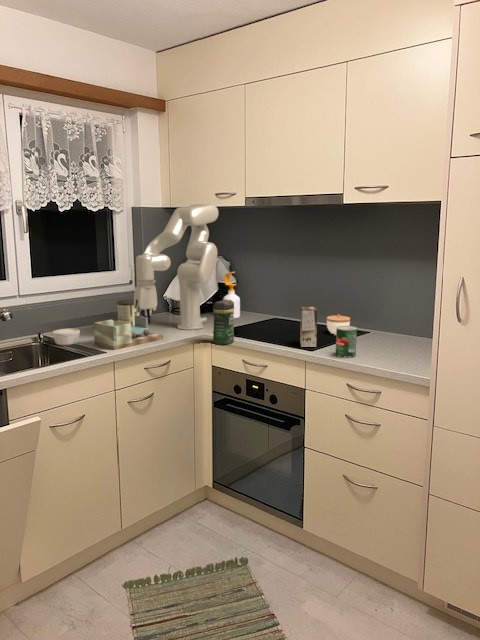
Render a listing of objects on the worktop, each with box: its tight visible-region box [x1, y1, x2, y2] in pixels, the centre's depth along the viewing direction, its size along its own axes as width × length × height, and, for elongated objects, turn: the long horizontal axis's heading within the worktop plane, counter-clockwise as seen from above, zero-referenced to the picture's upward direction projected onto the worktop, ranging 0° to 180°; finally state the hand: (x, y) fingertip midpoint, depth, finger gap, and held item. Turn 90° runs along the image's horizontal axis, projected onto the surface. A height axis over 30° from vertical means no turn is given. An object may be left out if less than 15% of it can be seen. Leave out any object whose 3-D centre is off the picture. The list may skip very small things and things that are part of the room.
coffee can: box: [116, 299, 140, 326], centre depth 255 cm, size 10×10×14 cm
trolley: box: [131, 315, 150, 338], centre depth 234 cm, size 10×10×8 cm
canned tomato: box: [335, 325, 358, 357], centre depth 210 cm, size 8×8×11 cm
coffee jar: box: [212, 299, 235, 345], centre depth 230 cm, size 10×8×19 cm
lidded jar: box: [326, 313, 351, 336], centre depth 246 cm, size 11×11×9 cm
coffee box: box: [299, 305, 318, 348], centre depth 225 cm, size 9×6×16 cm
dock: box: [93, 319, 164, 351], centre depth 232 cm, size 26×14×10 cm, turn 138°
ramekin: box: [52, 328, 81, 346], centre depth 231 cm, size 11×11×5 cm
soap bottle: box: [222, 271, 241, 319], centre depth 286 cm, size 9×9×25 cm
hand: (146, 324), depth 239 cm, fingers closed
